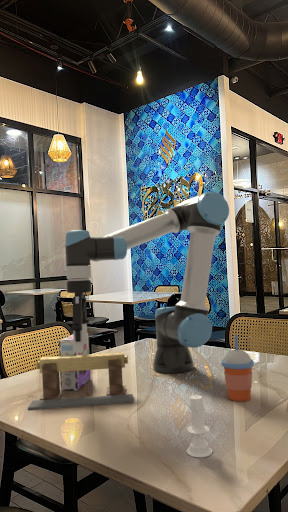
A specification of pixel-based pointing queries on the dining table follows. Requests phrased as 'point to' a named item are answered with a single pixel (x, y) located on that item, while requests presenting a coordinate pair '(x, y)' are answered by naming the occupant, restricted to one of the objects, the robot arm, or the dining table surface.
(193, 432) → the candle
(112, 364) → the post
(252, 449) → the dining table surface
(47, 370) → the post
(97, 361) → the rail
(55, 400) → the grey plank
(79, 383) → the candy box
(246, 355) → the cup with straw
